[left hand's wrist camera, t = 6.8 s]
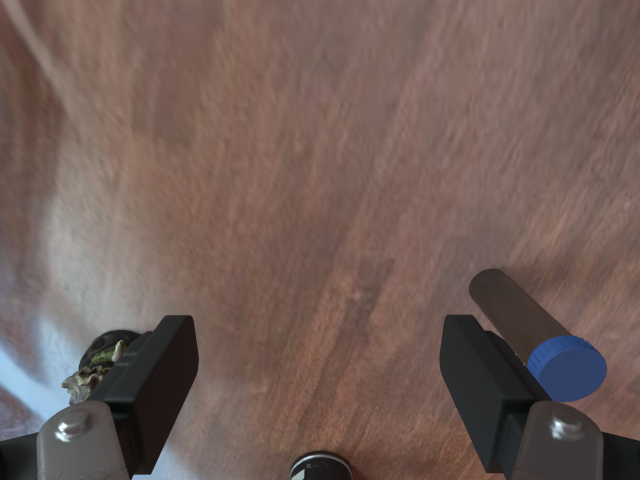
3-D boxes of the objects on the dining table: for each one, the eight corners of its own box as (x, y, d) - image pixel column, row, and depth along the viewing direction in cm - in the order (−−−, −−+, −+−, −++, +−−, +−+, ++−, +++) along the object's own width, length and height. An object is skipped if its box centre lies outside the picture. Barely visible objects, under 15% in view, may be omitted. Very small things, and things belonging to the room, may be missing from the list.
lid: (569, 394, 32) (582, 410, 30) (513, 377, 31) (524, 392, 30) (606, 345, 30) (622, 358, 29) (548, 326, 30) (561, 339, 28)
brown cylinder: (496, 309, 45) (577, 401, 31) (461, 297, 44) (527, 386, 30) (516, 276, 43) (611, 357, 29) (480, 263, 43) (559, 340, 29)
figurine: (112, 411, 50) (31, 529, 36) (60, 353, 47) (-51, 458, 33) (184, 381, 48) (128, 494, 34) (136, 318, 45) (52, 415, 31)
